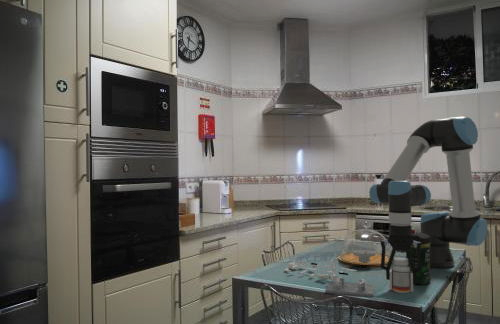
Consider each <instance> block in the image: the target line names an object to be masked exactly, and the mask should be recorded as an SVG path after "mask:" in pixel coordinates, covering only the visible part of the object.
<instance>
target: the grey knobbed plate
mask: <svg viewBox="0 0 500 324" xmlns="http://www.w3.org/2000/svg"><path fill="white" fill-rule="evenodd" d="M375 289H376V284H375V283H367V281H366V279H364V278H362V277H361V278H359V281H358V282H348V281H345V278H344V277H343V276H339V277H338V276H337V278H336V279H335V281H334V280H330V282H329V283H328V285H327V287H326V288H325V293H326V294H336V295H347V296H357V297H368V298H374V297H375Z"/></svg>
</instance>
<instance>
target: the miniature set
mask: <svg viewBox="0 0 500 324" xmlns="http://www.w3.org/2000/svg"><path fill="white" fill-rule="evenodd" d="M328 261H329V265H327V264H324V266H323V267H324V268H325V269H327V268H330V270H322V272H324V273H318V274H316V273H311V274H309V278H311V279H312V278H314V277H316V276H317V279H319V280H323V279H324V280H330V281H336V279H337V278H338V275H337V274H336V270H335V269H336V268H337V267H336V265H335V263H334V259H333V258H331V259H329V260H328ZM307 262H308V261H307V260H299V263H297V261H296V260H293V261H291V262H289V263H288V264H287V267H286V268H285V269H283V271H284V272H292V270H296V271H297V270H299V265H300V266H301V267H302V269H305V270H303V271H301V272H299V274H300V275H303V274H305V273H307V270H309V271H318V268H319V267H320V265H318V262H310V267H313V268H310V267H308V265H307ZM343 270H344V271H345V272H344V271H343ZM348 271H353V272H357V271H358V270H356V269H350V268H349V267H348V268H344V267H340V271H339V272H338V274H339V275H343V276H344V275H345V276H348V275H349V273H347V272H348ZM325 272H326V273H327V274H325ZM328 273H331V274H330V277H329V274H328Z"/></svg>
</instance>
